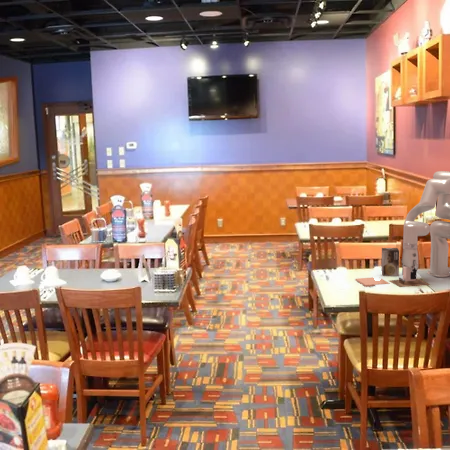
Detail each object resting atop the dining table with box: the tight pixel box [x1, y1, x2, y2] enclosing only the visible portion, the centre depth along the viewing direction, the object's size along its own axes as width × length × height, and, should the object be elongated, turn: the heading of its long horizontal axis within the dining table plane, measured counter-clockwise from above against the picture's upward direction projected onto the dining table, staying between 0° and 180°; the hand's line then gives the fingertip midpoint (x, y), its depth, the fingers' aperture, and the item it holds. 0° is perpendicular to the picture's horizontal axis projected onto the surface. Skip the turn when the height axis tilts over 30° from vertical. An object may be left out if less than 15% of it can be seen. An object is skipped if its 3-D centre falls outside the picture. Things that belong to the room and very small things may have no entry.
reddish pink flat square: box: [354, 276, 391, 288], centre depth 338 cm, size 14×14×1 cm
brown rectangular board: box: [388, 277, 431, 288], centre depth 333 cm, size 18×14×3 cm
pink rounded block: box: [402, 266, 417, 281], centre depth 332 cm, size 6×3×9 cm, turn 101°
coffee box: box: [381, 247, 400, 277], centre depth 350 cm, size 9×6×16 cm
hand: (409, 277), depth 333 cm, fingers open, 8 cm apart
